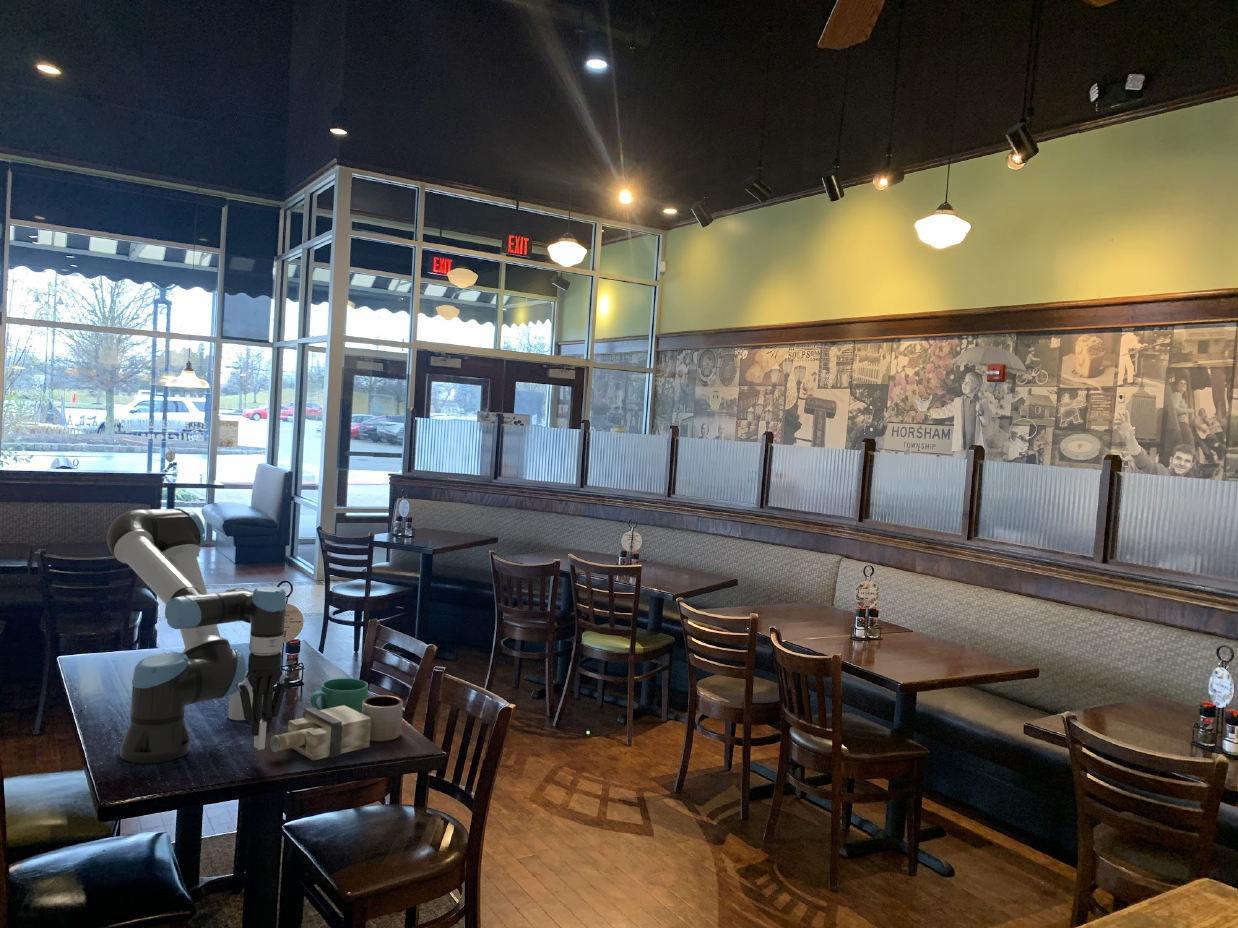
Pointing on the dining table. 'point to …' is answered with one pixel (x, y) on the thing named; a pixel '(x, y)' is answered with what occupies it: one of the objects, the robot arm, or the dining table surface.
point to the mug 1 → (238, 704)
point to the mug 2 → (341, 694)
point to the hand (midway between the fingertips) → (259, 747)
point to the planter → (383, 717)
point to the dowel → (289, 739)
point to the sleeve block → (332, 731)
